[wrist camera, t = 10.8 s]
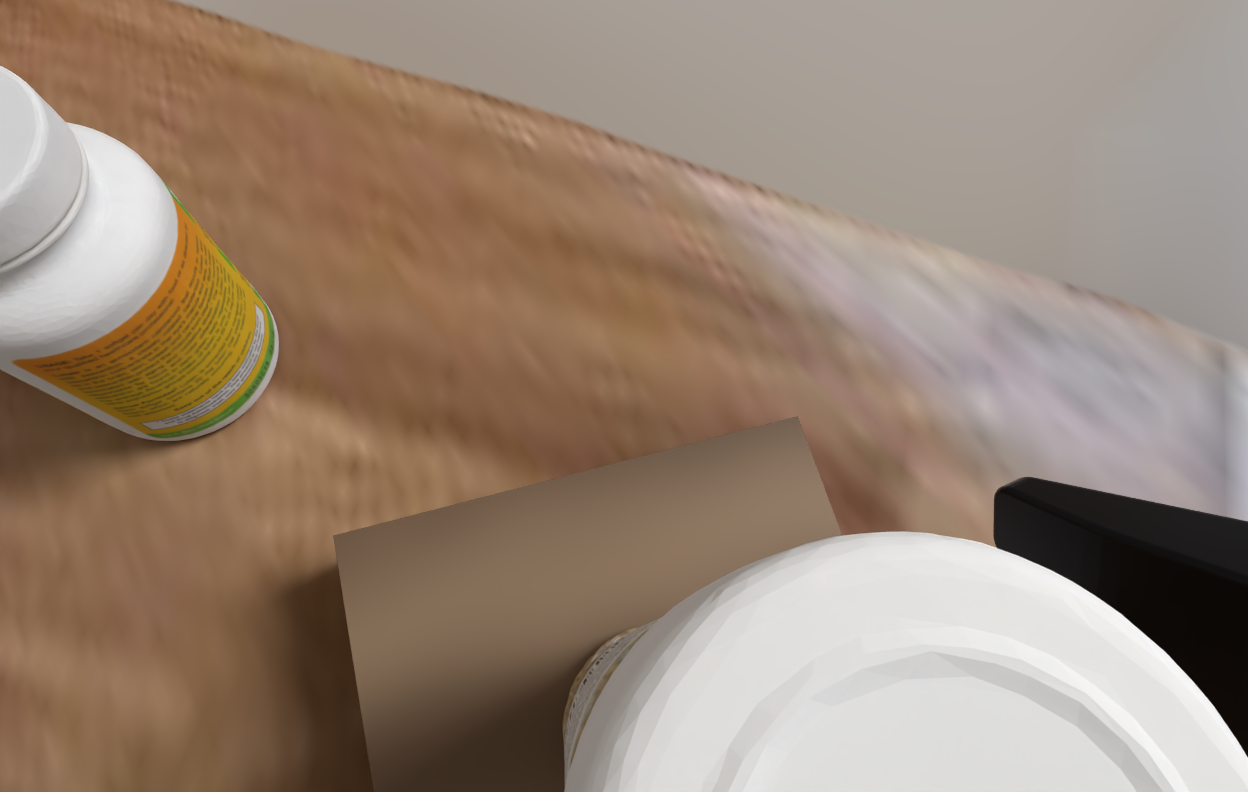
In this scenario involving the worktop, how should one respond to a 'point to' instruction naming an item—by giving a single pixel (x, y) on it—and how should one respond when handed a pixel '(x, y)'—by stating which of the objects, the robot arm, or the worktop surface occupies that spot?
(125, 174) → the supplement bottle
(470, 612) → the walnut block
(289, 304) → the worktop surface
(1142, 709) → the sprinkles bottle
